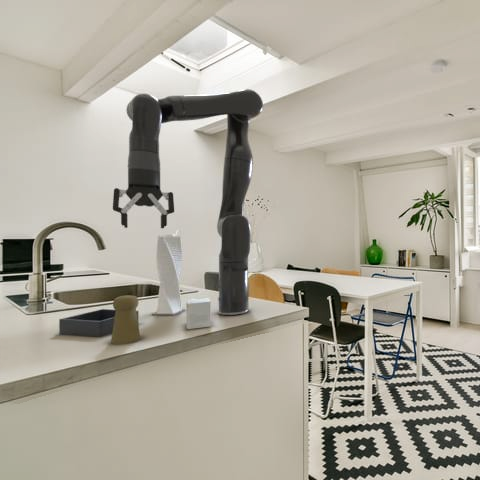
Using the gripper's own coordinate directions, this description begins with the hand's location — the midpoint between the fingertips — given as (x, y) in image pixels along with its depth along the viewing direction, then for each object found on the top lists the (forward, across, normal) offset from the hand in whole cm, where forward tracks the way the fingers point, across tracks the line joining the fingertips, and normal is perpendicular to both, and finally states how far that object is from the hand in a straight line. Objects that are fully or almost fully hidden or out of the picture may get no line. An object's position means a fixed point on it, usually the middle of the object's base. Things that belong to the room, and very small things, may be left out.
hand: (144, 228), depth 92 cm
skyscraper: (+28, +8, +16) cm, 33 cm away
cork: (+28, -4, -10) cm, 30 cm away
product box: (+28, +13, -6) cm, 31 cm away
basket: (+28, -10, +6) cm, 30 cm away
